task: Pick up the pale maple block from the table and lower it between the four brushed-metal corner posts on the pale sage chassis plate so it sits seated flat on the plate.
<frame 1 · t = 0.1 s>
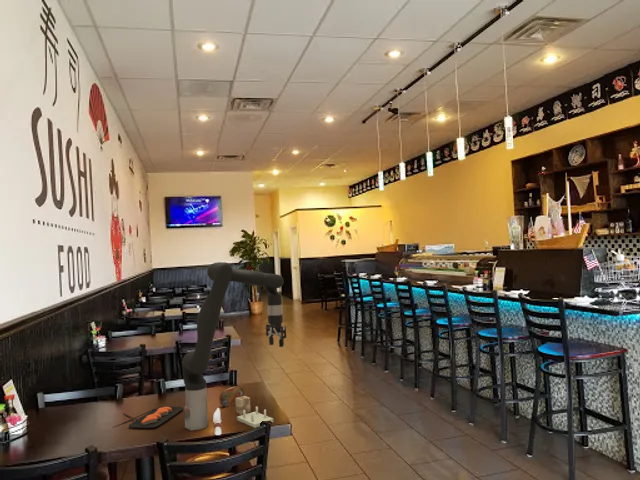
hand: (276, 345, 253), 29 cm above the table, tool pointing down, fingers open, 8 cm apart
sushi plate: (142, 420, 239), on the table
tin: (231, 404, 255), on the table
maple block: (243, 412, 241), on the table
chassis plate: (255, 421, 228), on the table
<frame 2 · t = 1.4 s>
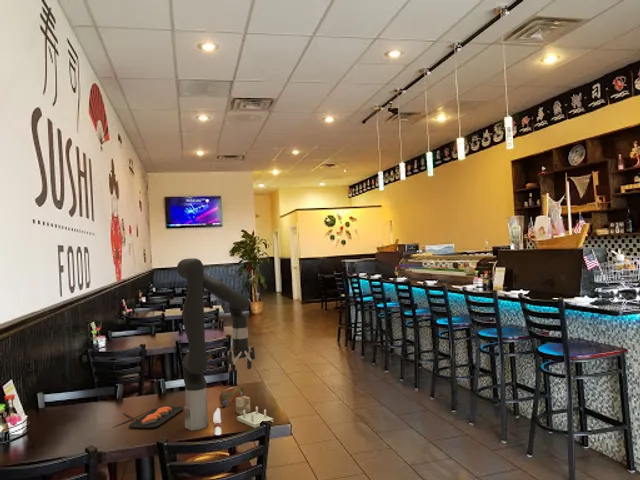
hand: (241, 370, 242), 20 cm above the table, tool pointing down, fingers open, 8 cm apart
nothing on the table moved.
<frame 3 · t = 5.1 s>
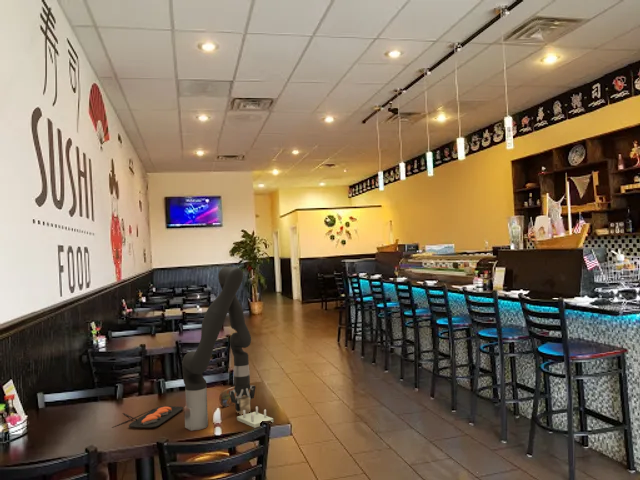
hand: (243, 409, 241), 1 cm above the table, tool pointing down, fingers closed on maple block, 5 cm apart
maple block: (243, 412, 241), on the table, touching gripper
everything else where it was.
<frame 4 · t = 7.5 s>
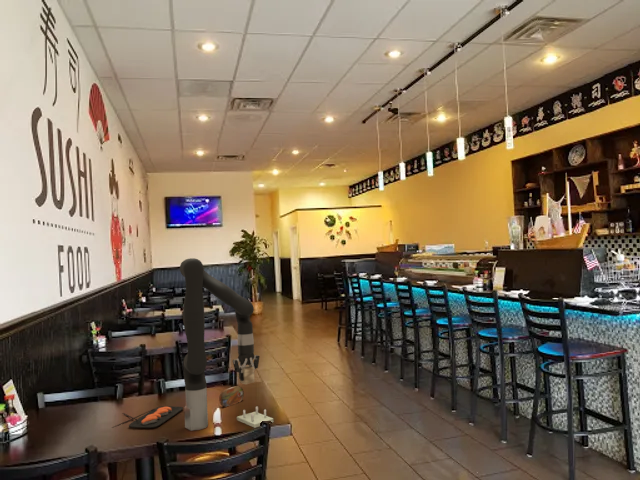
hand: (247, 379, 235), 17 cm above the table, tool pointing down, fingers closed on maple block, 5 cm apart
maple block: (247, 382, 235), point 16 cm above the table, touching gripper
everything else where it was.
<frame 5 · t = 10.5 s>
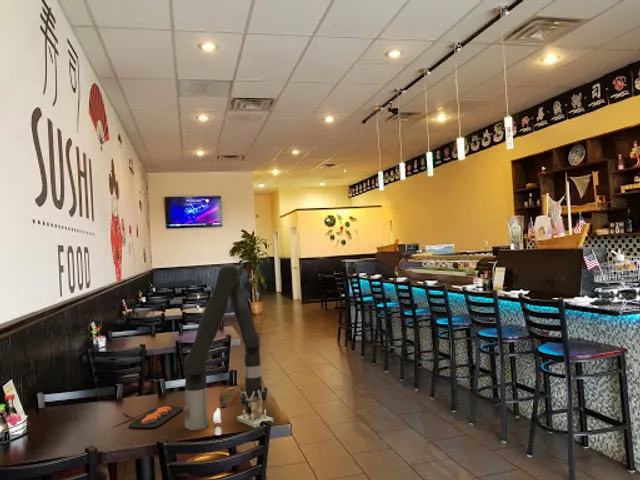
hand: (254, 412, 228), 4 cm above the table, tool pointing down, fingers closed on maple block, 5 cm apart
maple block: (254, 415, 228), point 2 cm above the table, touching gripper
everything else where it was.
when the fingers open (4 cm above the table, at t = 11.0 s): maple block stays where it is, resting on chassis plate.
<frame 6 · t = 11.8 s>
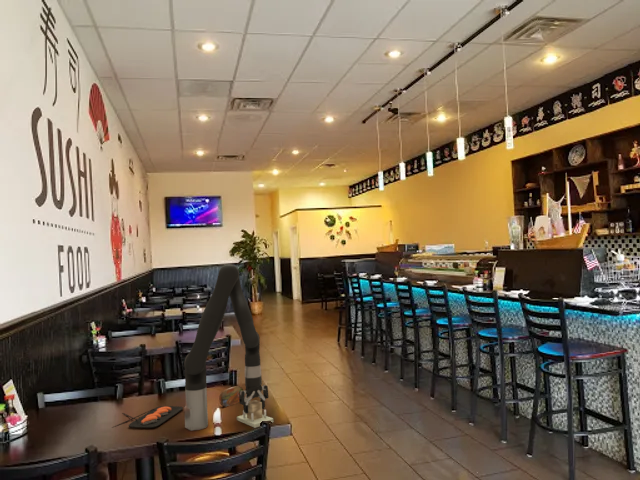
hand: (254, 410, 228), 5 cm above the table, tool pointing down, fingers open, 8 cm apart
maple block: (254, 417, 228), point 1 cm above the table, touching chassis plate
everything else where it was.
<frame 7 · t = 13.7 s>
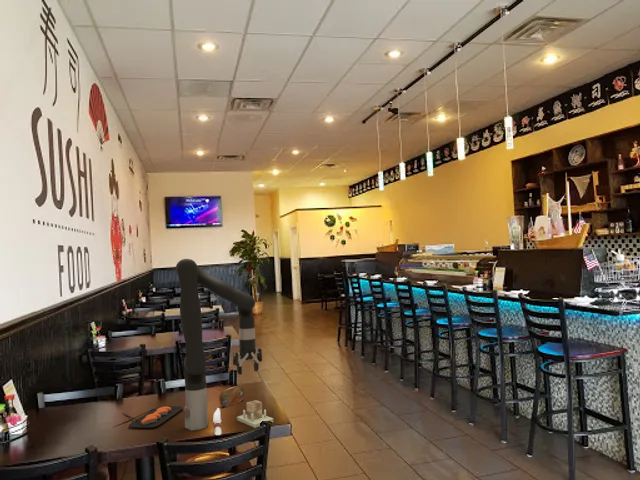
hand: (248, 372, 232), 21 cm above the table, tool pointing down, fingers open, 8 cm apart
nothing on the table moved.
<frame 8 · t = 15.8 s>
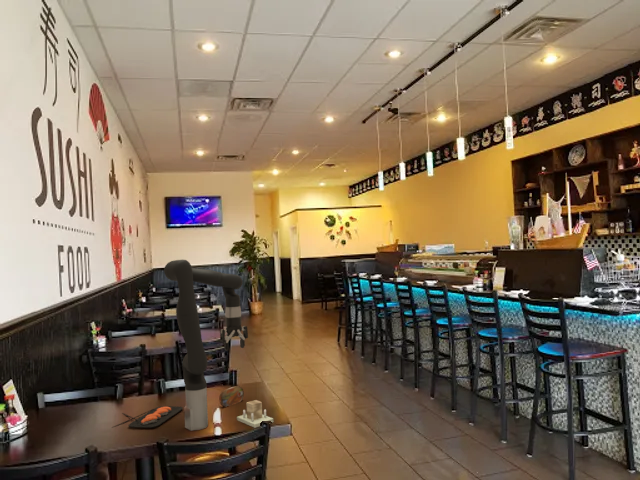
hand: (234, 349, 244), 30 cm above the table, tool pointing down, fingers open, 8 cm apart
nothing on the table moved.
at the end: maple block 0.1 cm off-centre on the chassis plate, point 1.5 cm above the chassis plate's base; maple block tilted 0°; the gripper is holding nothing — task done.
